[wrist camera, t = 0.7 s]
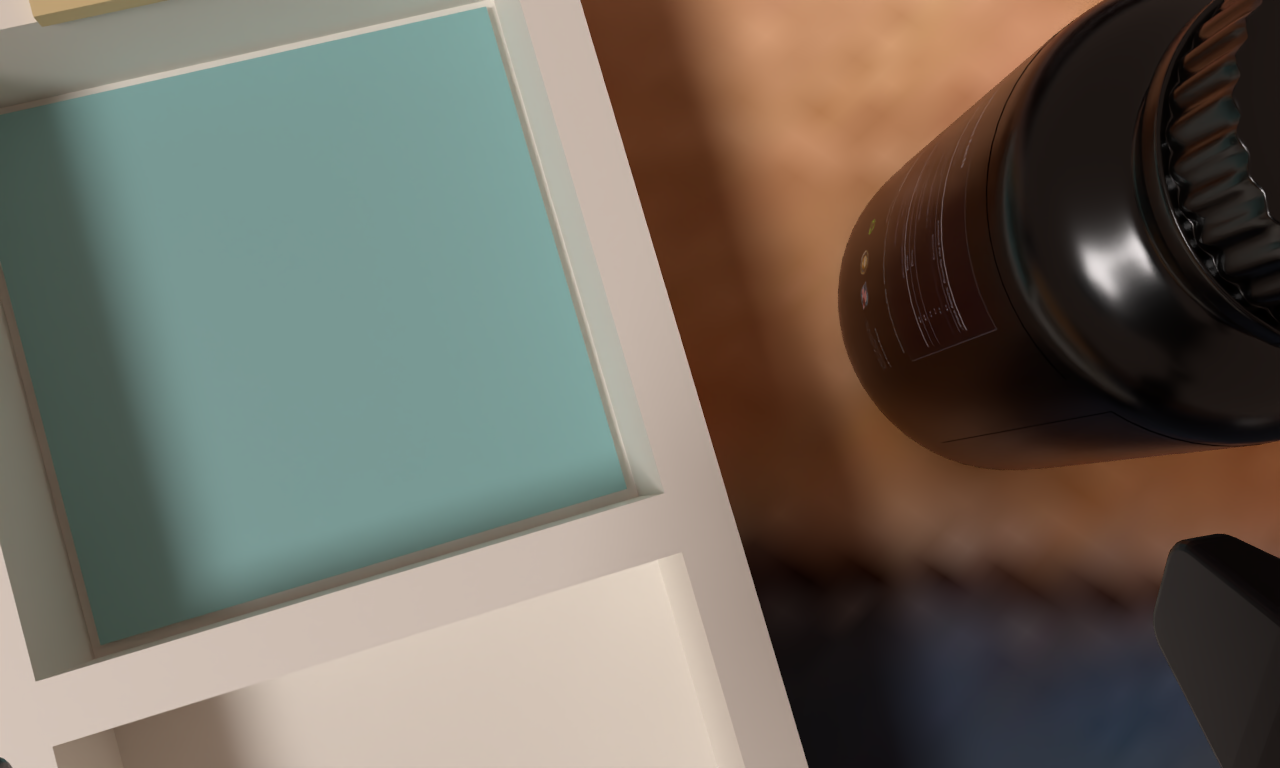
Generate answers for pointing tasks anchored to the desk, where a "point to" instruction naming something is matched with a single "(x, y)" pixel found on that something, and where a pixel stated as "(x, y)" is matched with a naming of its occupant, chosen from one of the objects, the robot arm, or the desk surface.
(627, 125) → the desk surface
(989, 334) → the supplement bottle
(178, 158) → the tray
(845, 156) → the desk surface
